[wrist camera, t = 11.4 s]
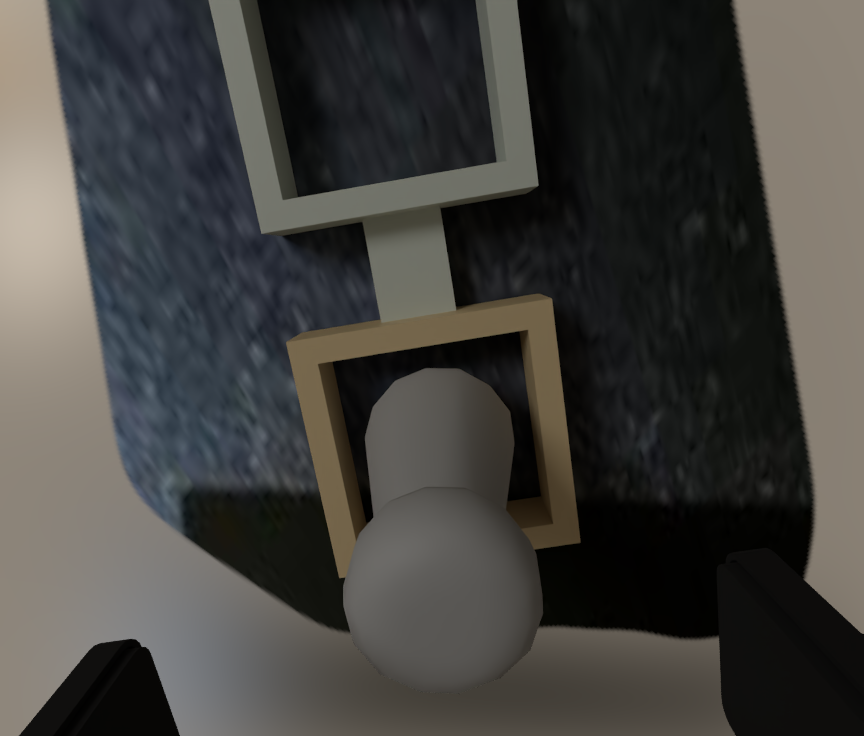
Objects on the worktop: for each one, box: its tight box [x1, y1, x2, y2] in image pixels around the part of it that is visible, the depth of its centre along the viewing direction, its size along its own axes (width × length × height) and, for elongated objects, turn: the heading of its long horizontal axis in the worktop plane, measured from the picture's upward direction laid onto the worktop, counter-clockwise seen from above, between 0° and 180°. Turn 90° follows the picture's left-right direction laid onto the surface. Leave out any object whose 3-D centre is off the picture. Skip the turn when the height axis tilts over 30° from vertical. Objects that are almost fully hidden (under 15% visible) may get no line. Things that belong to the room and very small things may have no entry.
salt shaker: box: [343, 368, 543, 694], centre depth 17 cm, size 6×6×13 cm
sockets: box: [209, 0, 581, 578], centre depth 20 cm, size 24×10×2 cm, turn 9°
